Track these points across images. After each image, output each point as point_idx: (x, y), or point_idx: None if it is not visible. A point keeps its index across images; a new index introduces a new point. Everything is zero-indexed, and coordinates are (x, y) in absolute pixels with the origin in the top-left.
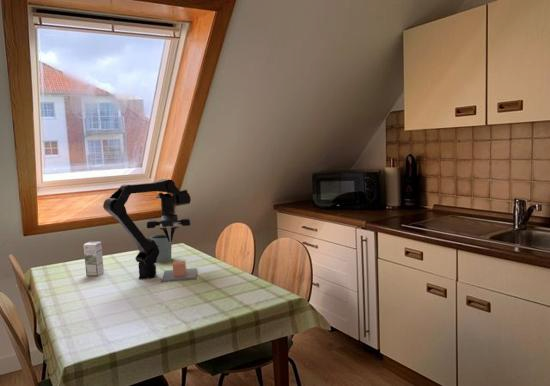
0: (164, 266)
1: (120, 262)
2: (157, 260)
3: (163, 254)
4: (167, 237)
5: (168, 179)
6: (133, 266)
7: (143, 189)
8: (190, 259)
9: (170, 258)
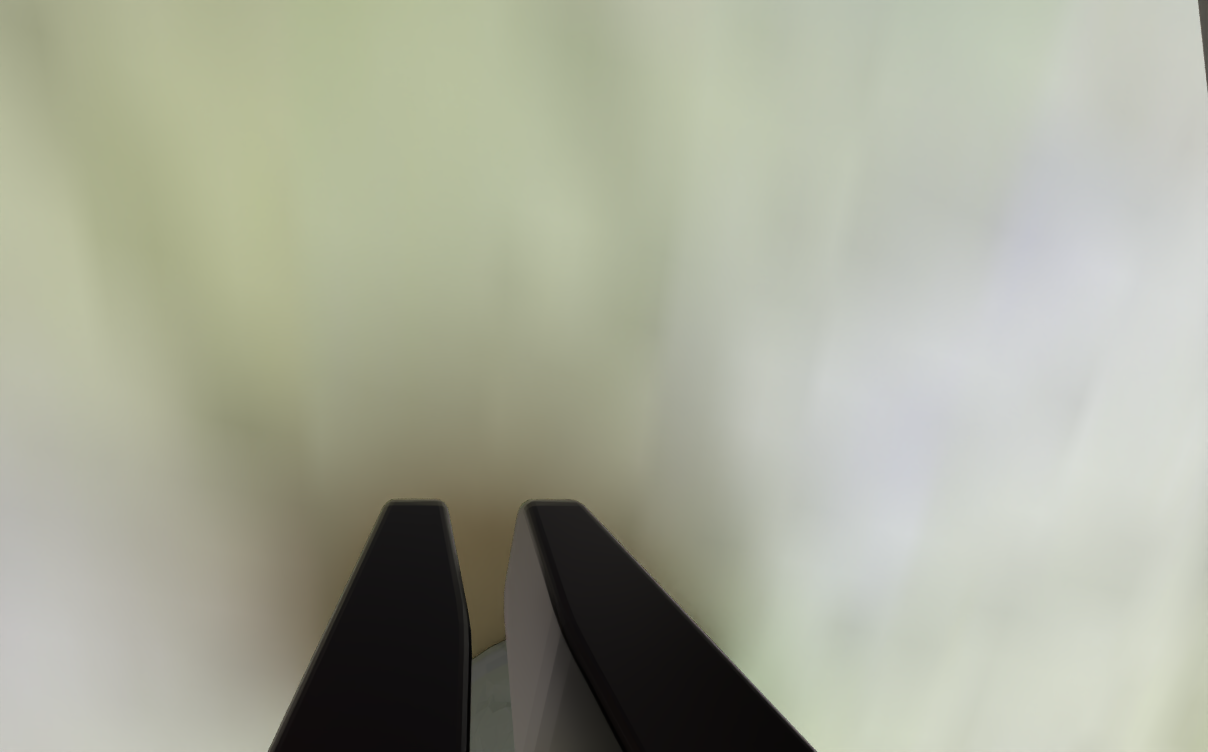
0: (571, 361)
1: (1170, 734)
2: None
3: None
4: (734, 711)
5: None
6: (1089, 518)
7: None
8: (5, 675)
9: None
